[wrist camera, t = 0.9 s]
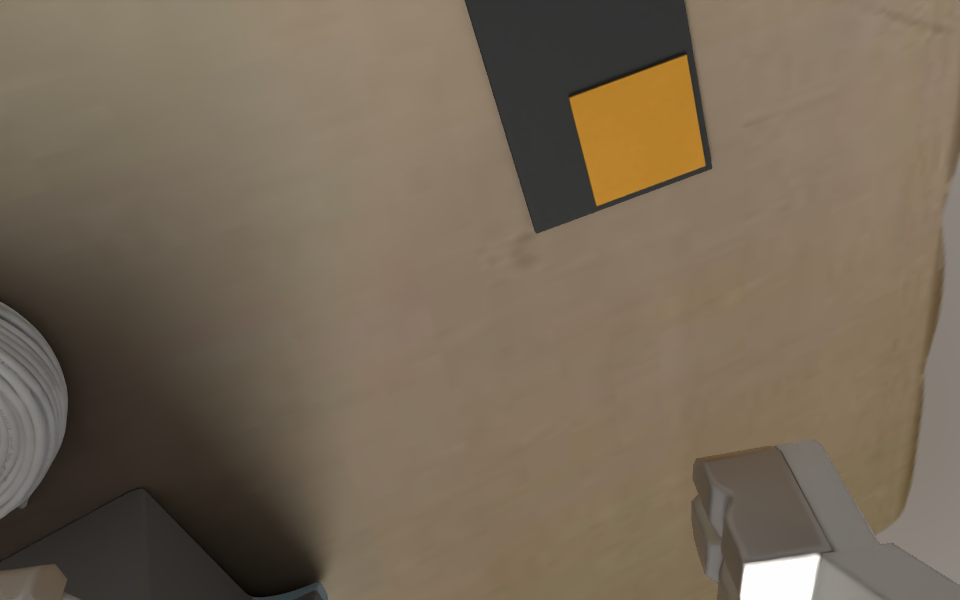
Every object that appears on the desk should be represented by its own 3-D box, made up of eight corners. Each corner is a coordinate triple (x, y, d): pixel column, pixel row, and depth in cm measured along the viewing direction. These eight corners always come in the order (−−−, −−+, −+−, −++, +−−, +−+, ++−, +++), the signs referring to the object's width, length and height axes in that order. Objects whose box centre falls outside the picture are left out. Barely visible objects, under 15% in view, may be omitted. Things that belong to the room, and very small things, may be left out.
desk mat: (444, -65, 48) (446, -64, 48) (657, -143, 48) (662, -143, 48) (534, 231, 58) (537, 235, 58) (710, 166, 59) (713, 169, 58)
